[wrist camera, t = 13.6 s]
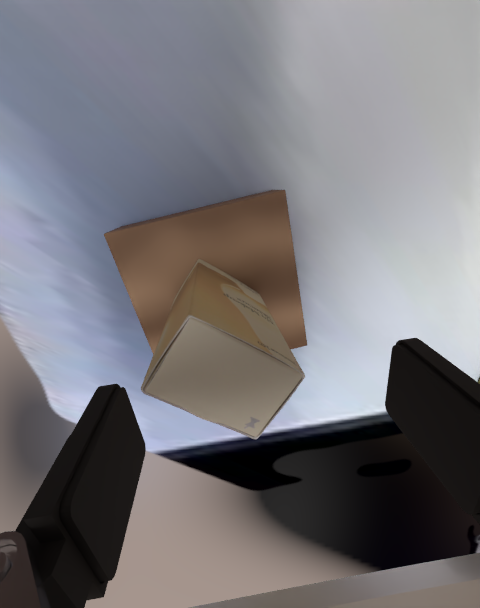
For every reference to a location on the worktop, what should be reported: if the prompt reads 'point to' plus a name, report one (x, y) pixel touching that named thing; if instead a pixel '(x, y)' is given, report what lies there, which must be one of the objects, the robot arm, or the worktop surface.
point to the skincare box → (222, 355)
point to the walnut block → (213, 258)
